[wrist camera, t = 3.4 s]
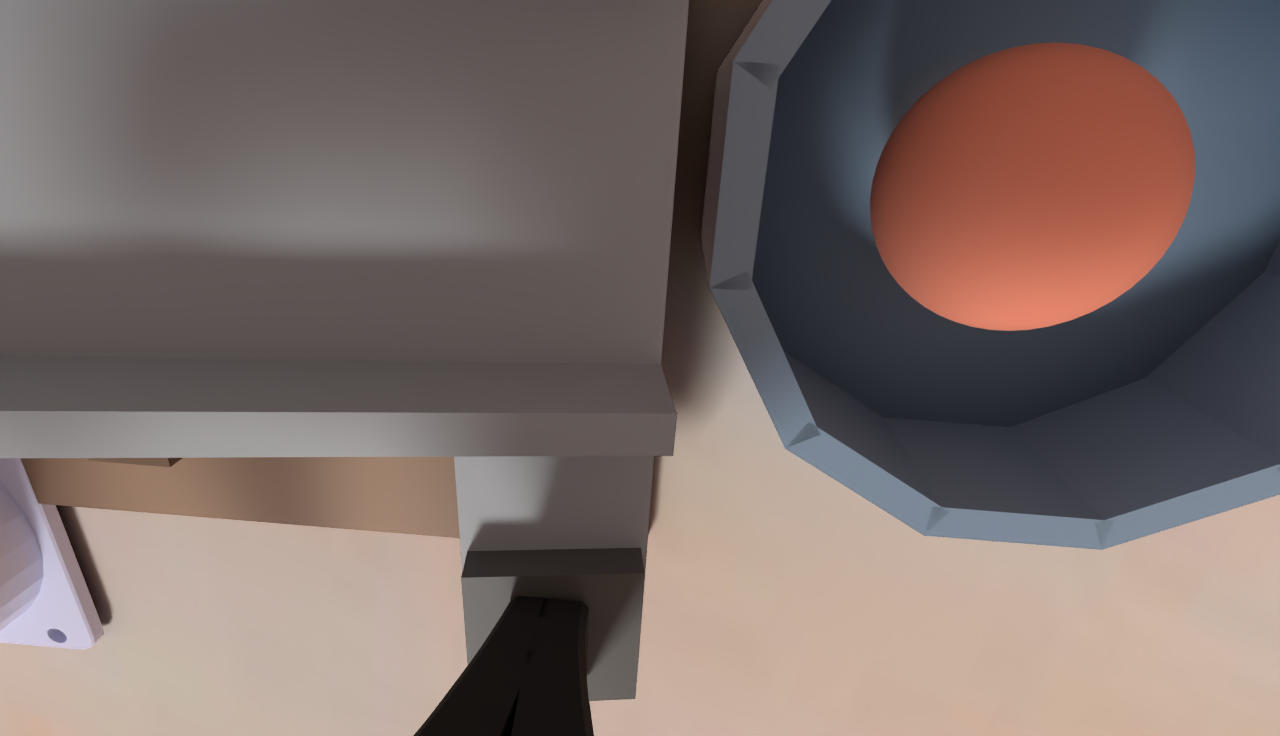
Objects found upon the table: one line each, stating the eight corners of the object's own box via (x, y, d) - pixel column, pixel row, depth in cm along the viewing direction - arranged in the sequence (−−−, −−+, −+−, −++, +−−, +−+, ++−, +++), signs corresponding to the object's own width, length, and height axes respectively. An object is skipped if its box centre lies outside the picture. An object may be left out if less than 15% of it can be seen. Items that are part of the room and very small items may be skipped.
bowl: (683, 418, 14) (685, 516, 11) (744, -223, 10) (781, -390, 6) (1188, 456, 14) (1348, 569, 11) (1496, -186, 9) (1942, -341, 6)
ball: (1127, 403, 7) (1129, 323, 10) (1286, 23, 6) (1234, 57, 9) (810, 322, 10) (887, 275, 13) (862, 25, 8) (937, 53, 11)
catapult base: (60, 489, 16) (-211, 661, 11) (-349, -594, 9) (-1652, -1468, 4) (647, 537, 15) (634, 738, 11) (731, -555, 8) (809, -1482, 3)
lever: (-246, 680, 11) (-447, 825, 8) (-909, -245, 6) (-1756, -436, 4) (632, 646, 12) (645, 760, 10) (685, -91, 7) (729, -161, 5)
